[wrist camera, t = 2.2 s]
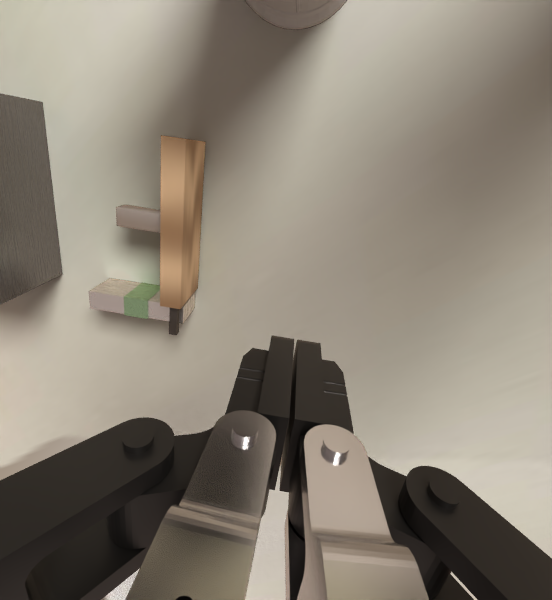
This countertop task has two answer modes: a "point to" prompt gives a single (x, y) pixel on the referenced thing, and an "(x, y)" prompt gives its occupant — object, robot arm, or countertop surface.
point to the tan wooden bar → (175, 221)
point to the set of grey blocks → (48, 221)
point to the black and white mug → (295, 11)
